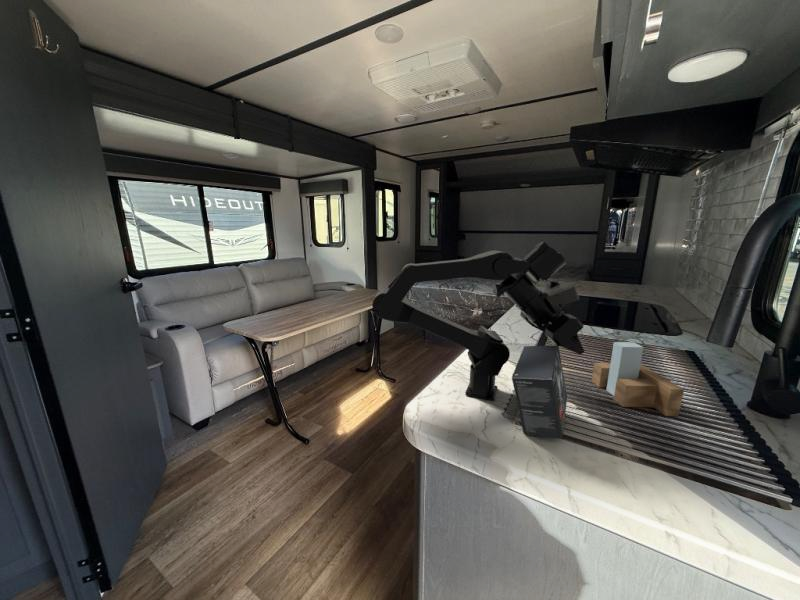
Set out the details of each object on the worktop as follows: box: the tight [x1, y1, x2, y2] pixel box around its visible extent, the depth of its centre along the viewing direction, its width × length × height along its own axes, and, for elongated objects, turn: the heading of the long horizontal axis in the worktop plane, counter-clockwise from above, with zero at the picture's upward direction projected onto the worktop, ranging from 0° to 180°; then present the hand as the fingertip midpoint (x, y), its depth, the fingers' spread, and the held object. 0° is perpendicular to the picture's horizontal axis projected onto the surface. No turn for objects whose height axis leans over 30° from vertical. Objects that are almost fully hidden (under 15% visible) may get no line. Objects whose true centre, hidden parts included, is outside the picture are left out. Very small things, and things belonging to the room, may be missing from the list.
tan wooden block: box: [591, 362, 685, 417], centre depth 72 cm, size 9×18×6 cm, turn 179°
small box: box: [511, 344, 568, 439], centre depth 60 cm, size 13×7×12 cm, turn 150°
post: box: [606, 341, 645, 397], centre depth 71 cm, size 4×3×12 cm, turn 88°
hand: (571, 345), depth 70 cm, fingers open, 9 cm apart
